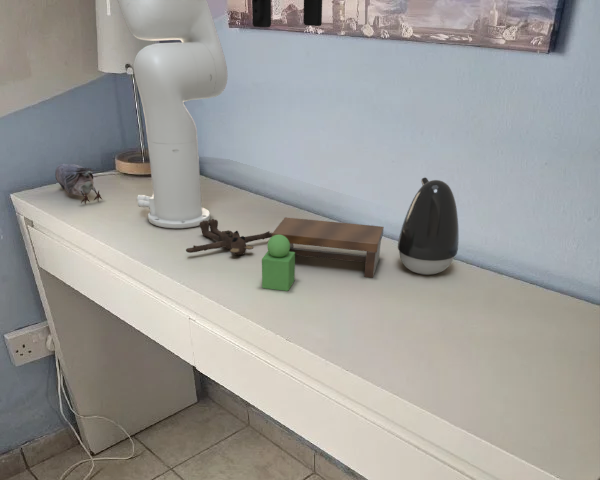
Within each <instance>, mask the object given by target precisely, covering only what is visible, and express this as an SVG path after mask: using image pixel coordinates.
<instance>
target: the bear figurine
mask: <svg viewBox="0 0 600 480" xmlns="http://www.w3.org/2000/svg"><path fill="white" fill-rule="evenodd" d="M218 226H219V221H218V219H215V218H212V219H209V221H202V222H200V225H199V227H200V232H201V235H202V236H203V237H207V238H210V240H214V241H215V242H210V243H206V244H201V245H195V244H194V245H193V246H192V247H188V248H186V249H185V251H186V252H187V253H189V254H191V253H192V254H193V253H199V252H203V251H204V252H206V251H209V250H214V249H220V248H225V249H226V250H229V253H231V254H234V255H235V256H242V255H244V254H245V253H246V252H247V250H249V251H251V250H254V246H252V245H248V243H251V242H256V241H260V240H263V241H264V240H266V239H270V238H271V237H272V233H273V232H270V231H266V232H263V233H259V234H254V235H253V234H252V235H247V236H243V235H241V236H240V233H239V231H238V230H235V231H234V232H233V231H232V230H228V229H227V230H222V231H221V230H220V229H218Z"/></svg>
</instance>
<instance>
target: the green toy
mask: <svg viewBox="0 0 600 480" xmlns="http://www.w3.org/2000/svg"><path fill="white" fill-rule="evenodd" d="M266 247H267V252H266V253H265V254H264V255H263V257H262V258H261V288H262V289H267V290H276V291H285V292H289V291H290V289H291V288H292V285H293V284H294V282H295V278H296V275H295V273H296V271H295V270H296V255H295V252H289V250H290V243H289V240H288V239H287V238H286V237H285V236H283V235H274V236H272V237H270V238H268V241H267V245H266Z"/></svg>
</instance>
